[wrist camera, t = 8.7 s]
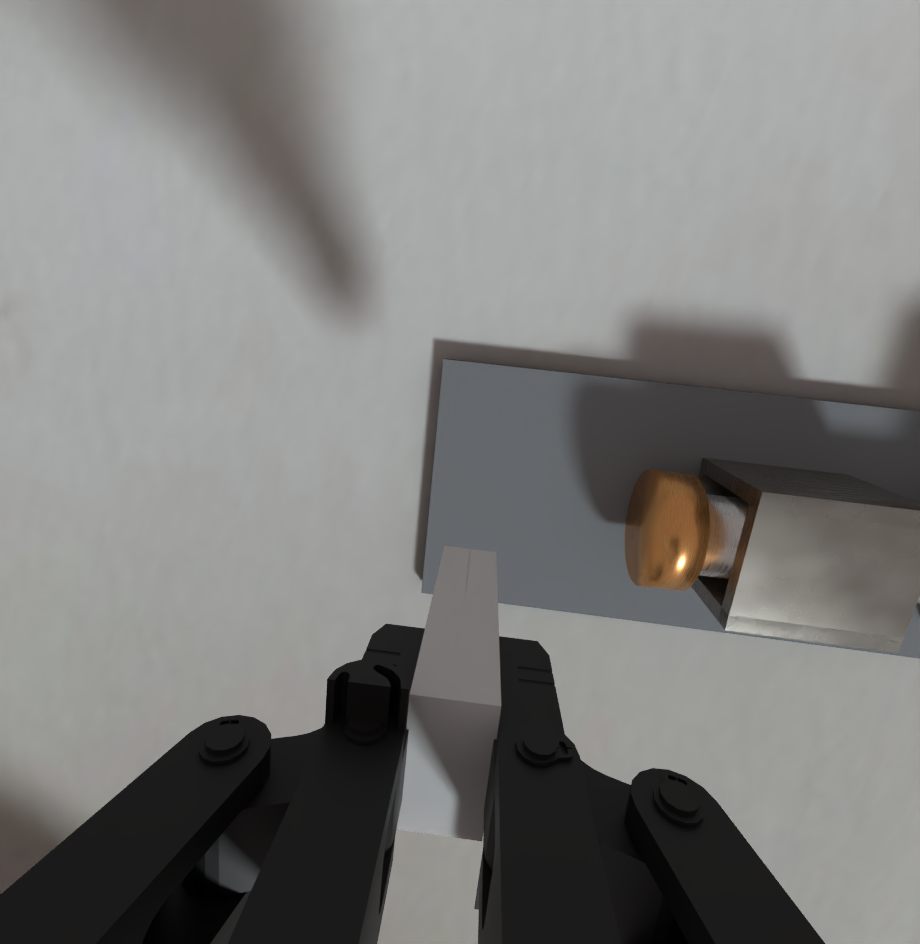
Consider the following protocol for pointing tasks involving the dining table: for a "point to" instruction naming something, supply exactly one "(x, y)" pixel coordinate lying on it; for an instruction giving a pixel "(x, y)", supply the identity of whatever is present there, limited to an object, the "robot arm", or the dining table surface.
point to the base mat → (622, 475)
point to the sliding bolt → (680, 531)
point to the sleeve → (816, 557)
